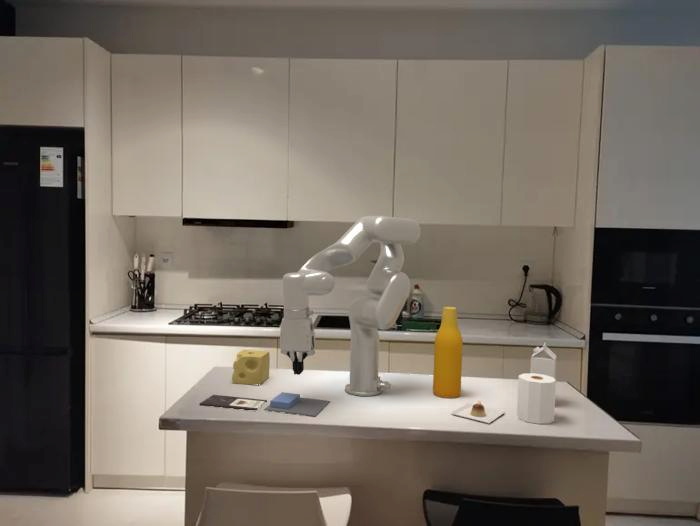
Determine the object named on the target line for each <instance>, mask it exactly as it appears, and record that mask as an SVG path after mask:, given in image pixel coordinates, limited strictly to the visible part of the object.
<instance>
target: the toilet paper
mask: <svg viewBox="0 0 700 526" xmlns="http://www.w3.org/2000/svg"><path fill="white" fill-rule="evenodd" d="M517 385H518V386H517V405H516V415H517V418H518V419H519V420H522V421H524V422H527V423H532V424H537V425H543V424H544V425H545V424H551V423H553V422H555V410H556V409H555V408H556V392H557V391H556V389H557V387H556V385H557V379H556V378H555V379H554V378H553V377H550V376H547V375H543V374H535V373H525V372H524V373H521V374H519V375H518V383H517Z"/></svg>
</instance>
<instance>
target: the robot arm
mask: <svg viewBox="0 0 700 526" xmlns="http://www.w3.org/2000/svg"><path fill="white" fill-rule="evenodd" d="M420 236H421V227H420V225H419V223H418V222H417V221H416V220H415V219H414V218H413V219H412V218H406V217H404V218H403V217H394V216H386V215H365V216H362V217H360V218H359V219H357V221H355V222H354V224H353V225H352V226H350V228H349V229H347V231H346V232H345V233H344V234H343V235H342V236H341V237H340V238H339V239H338V240H337V241H336V242H335V243H333V244H331V245H329V246H328V247H326V248H324V249H323V250H322V251H321V250H320V251H319V252H317V253H316V254H315V255H313V256H312V257H311V258H309V259H308V260H307V261H306V262H305V263H304V265H302V266H301V267H300V268H299V270H298V271H297V272H288V273H285V274H284V275H283V277H282V296H283V297H282V298H283V299H282V300H283V301H282V302H283V303H282V304H283V317H282V319H281V323H280V332H279V348H280V354H282V355H284V356H285V355H286V356H287V357H288V358H289V360H290V361H291V362H292V371H293V375H295V376H296V375H297V376H298V375H301V374H302V373H303V372H304V369H305V367H304V365H305V364H304V363H305V362H304V360H305V359H306V358H307V357H310V356H311V357H312V356H314V355H315V354H316V350H315V348H316V345H317V343H316V333H315V327H314V321H313V318H312V317H310V316H313V315H314V310H310V306H309V304H310V303H309V302H310V301H309V296H327V295H328V294H330V293H331V292H332V291H333V290H334V288H335V284H336V283H335V278H334V277H333V275H332V274H331V273H329V272H330V271H332V270H333V269H336V268H337V269H338V268H341V267H344V266H348V265H350V264H352V263H354V262H355V261H357V260H358V259H359V258H360V257H361V255H362V254H363V253H364V252H365V251H366V250H367V248H369V247H370V246H371V245H372V244H373V243H380V244H379V245H380V254H379V256H378V259H377V261H376V263H375V265H374V267H373V269H372V271H371V273H370V275H369V277H368V279H367V281H366V285H365V286H366V290H367V292H368V294H370V295H372V296H374V297H370V296H359V297H355V298H354V299H353V300H352V301H351V302H350V304H349V307H348V320H349V326H350V357H349V383H347V384H346V385H345V386H344V391H345V392H346V393H347V394H350V395H354V396H358V397H359V396H360V397H371V396H377V395H380V394H381V393H383V389H385V390H390V389H391V386H392V385H391V383H390V382H389V381H387V380H385V381H384V380H381V376H379V367H380V365H379V361H380V360H379V359H380V335H379V330H381V331H385V330H389V329H390V328H392V327H393V325H394V324H395V323H396V321H397V320H398V318H399V316H400V314H401V311H402V310H403V308H404V305H405V303H406V301H407V299H408V297H409V294H410V291H411V281H410V277H409V276H408V275H407V274H406V273H405V272H403V271H402V267H403V265H404V262H405V255H404V251H403V248H402V245H412V244H415V243H416V242H417V241H418V240H419V238H420ZM375 297H376V298H375Z"/></svg>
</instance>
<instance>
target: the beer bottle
mask: <svg viewBox="0 0 700 526" xmlns="http://www.w3.org/2000/svg"><path fill="white" fill-rule="evenodd" d="M440 322H441V323H440V326H439V329H438V331H437V332H436V334H435V338H434V347H433V348H434V352H433V353H434V354H433V380H432V393H433V395H434V396H436V397H439V398H443V399H456V398H459V397H461V393H462V371H463V370H462V369H463V368H462V367H463V362H462V361H463V345H464V343H463V336H462V333H461V332H460V329H459V325H458V313H457V307H453V306H444V307H443V309H442V317H441V321H440Z"/></svg>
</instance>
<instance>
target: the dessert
mask: <svg viewBox="0 0 700 526" xmlns="http://www.w3.org/2000/svg"><path fill="white" fill-rule="evenodd" d="M469 408H471V411H470V413H469V414H470V415H471V416H473V417H476V418H472V417H469V416H466V415H460V412H461V413H463V412H464V411H466V410H467V409H469ZM486 412H491V413H493V414H497V415H496V416H495V417H492V419H490V420H488V421H484V420H481V419H477V418H484V417H486V416H487V414H486ZM458 413H459V414H458ZM505 413H506V412H505V411H501V410H497V409H493V408H489V407H485V405H483V404H482V401H481V400H477V401H476V403H475V404H472V403H466V404H465V405H463V406H461V407H460V408H458V409H456V410H454V411H453V412H451V413H450V415H451V414H452V416H456V417H459V418H464V419H468V420H472V421H476V422H479V423H480V422H481V423H484V424H491V423H492V422H493V421H495V420H496V419H497V418H500V416H502V415H504V414H505Z"/></svg>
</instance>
